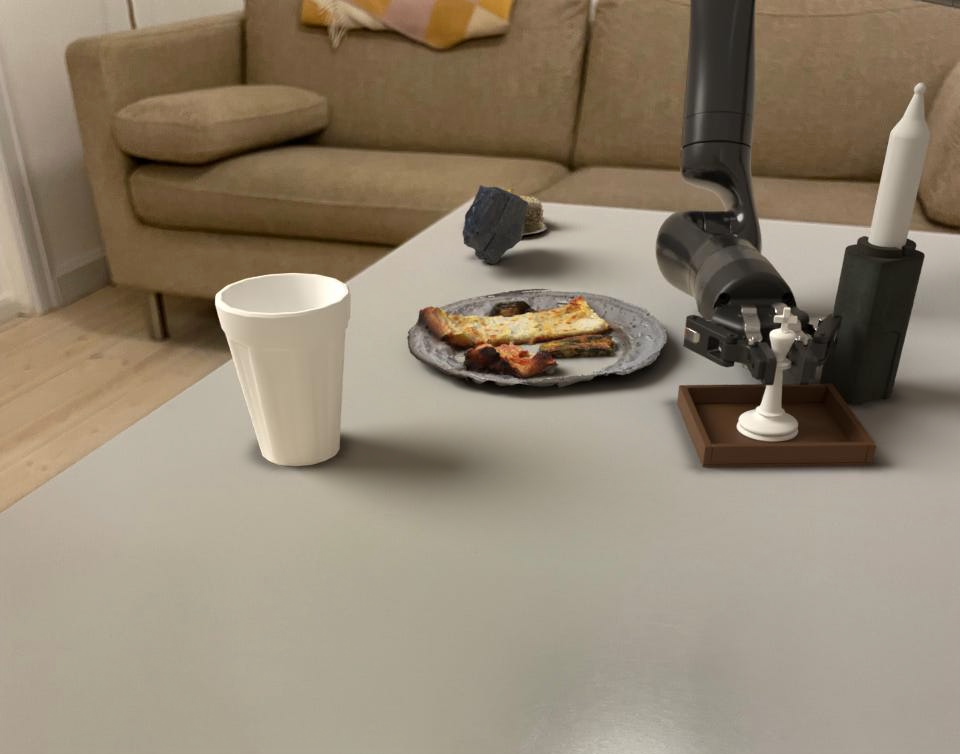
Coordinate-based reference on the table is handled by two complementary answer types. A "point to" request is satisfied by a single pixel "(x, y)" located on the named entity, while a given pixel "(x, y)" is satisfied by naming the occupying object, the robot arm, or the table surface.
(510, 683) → the table surface
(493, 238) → the stone
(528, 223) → the cake
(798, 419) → the serving tray
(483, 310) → the food plate
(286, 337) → the cup
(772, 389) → the chess piece
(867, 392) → the candle
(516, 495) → the table surface
